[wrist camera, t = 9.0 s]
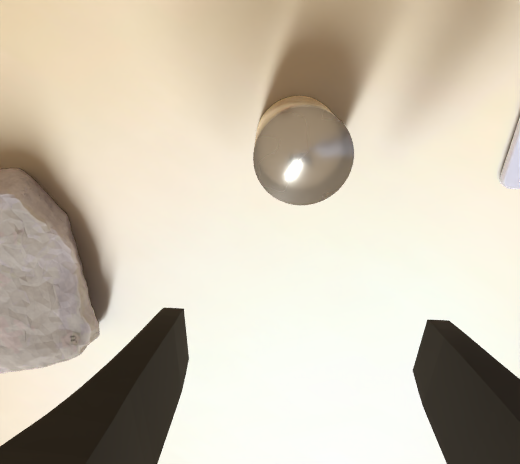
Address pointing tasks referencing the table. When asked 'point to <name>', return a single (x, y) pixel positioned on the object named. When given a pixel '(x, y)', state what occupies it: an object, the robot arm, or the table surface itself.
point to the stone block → (39, 280)
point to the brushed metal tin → (302, 151)
